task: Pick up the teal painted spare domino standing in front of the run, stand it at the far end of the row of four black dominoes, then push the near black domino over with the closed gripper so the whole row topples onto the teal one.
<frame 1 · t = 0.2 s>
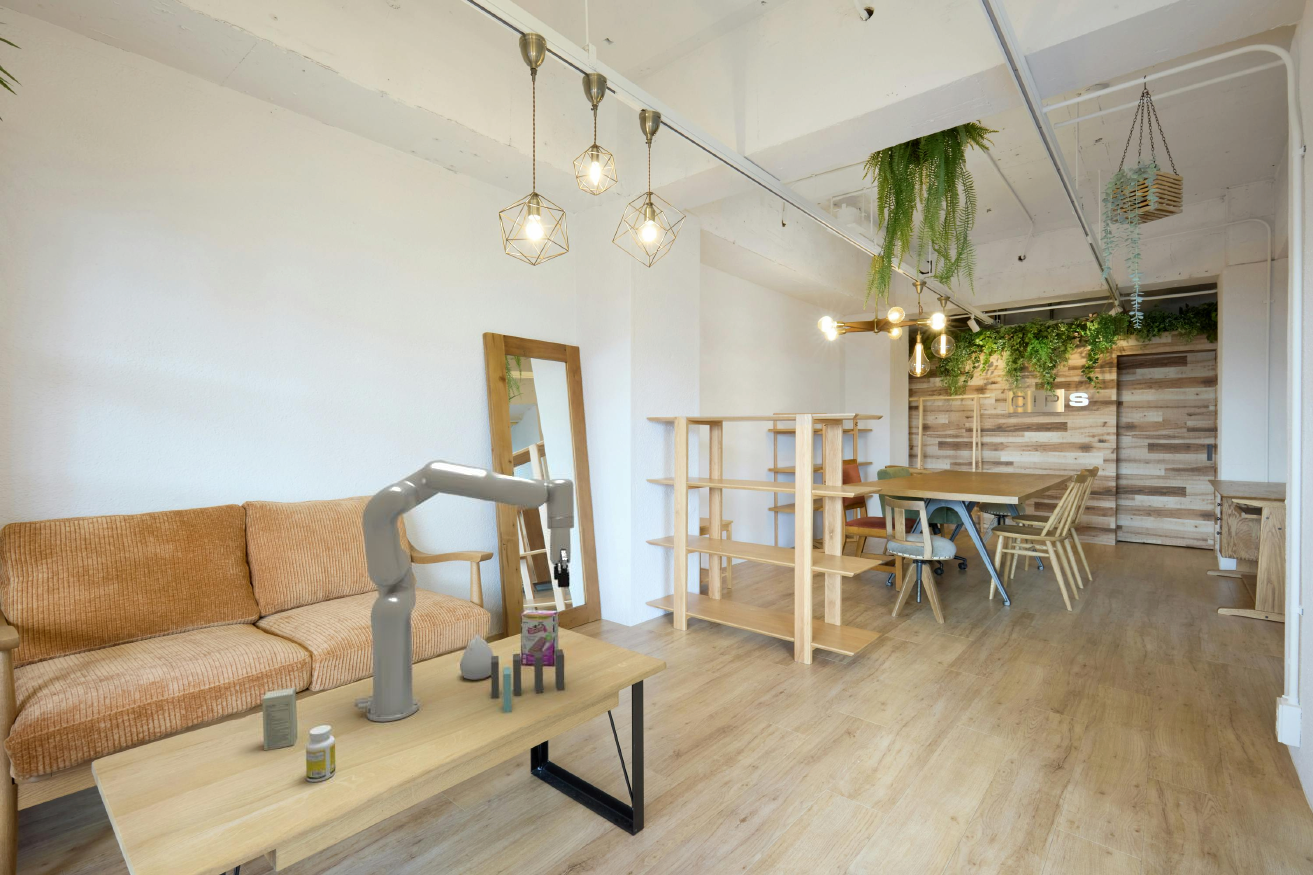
hand: (561, 583, 170), 31 cm above the table, fingers open, 9 cm apart
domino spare: (507, 708, 159), on the table
domino 2: (517, 692, 169), on the table
domino 3: (538, 689, 171), on the table
skincare box: (280, 745, 141), on the table
domino 4: (559, 686, 173), on the table
grey teardrop lump: (477, 676, 182), on the table
supplement bottle: (321, 776, 127), on the table
candy bar box: (540, 663, 192), on the table
domino 1: (495, 694, 168), on the table
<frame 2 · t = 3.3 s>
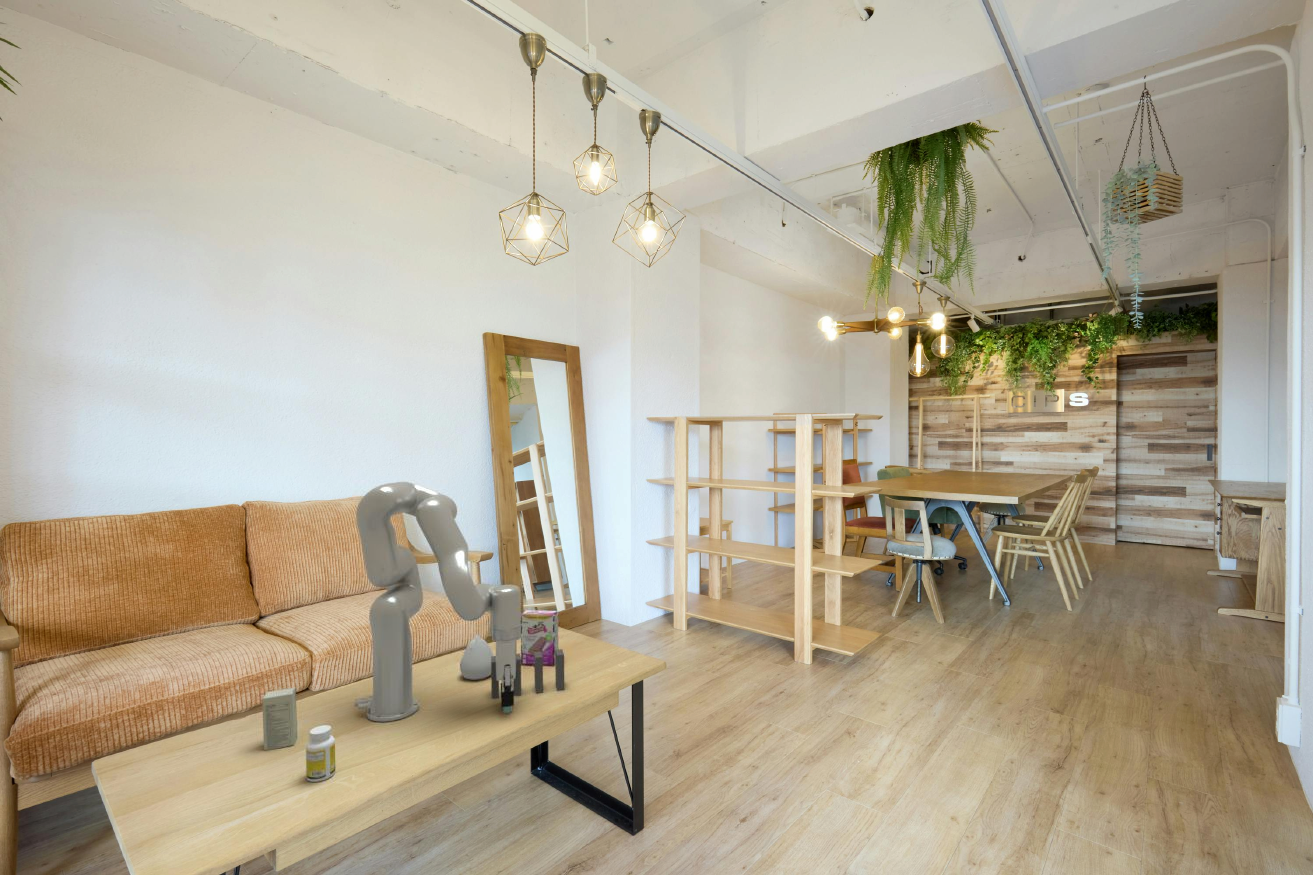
hand: (507, 700, 159), 2 cm above the table, fingers closed on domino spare, 4 cm apart
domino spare: (507, 708, 159), on the table, touching gripper
everything else where it was.
when the fingers open (3 cm above the table, at t = 9.1 s): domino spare stays where it is, on the table.
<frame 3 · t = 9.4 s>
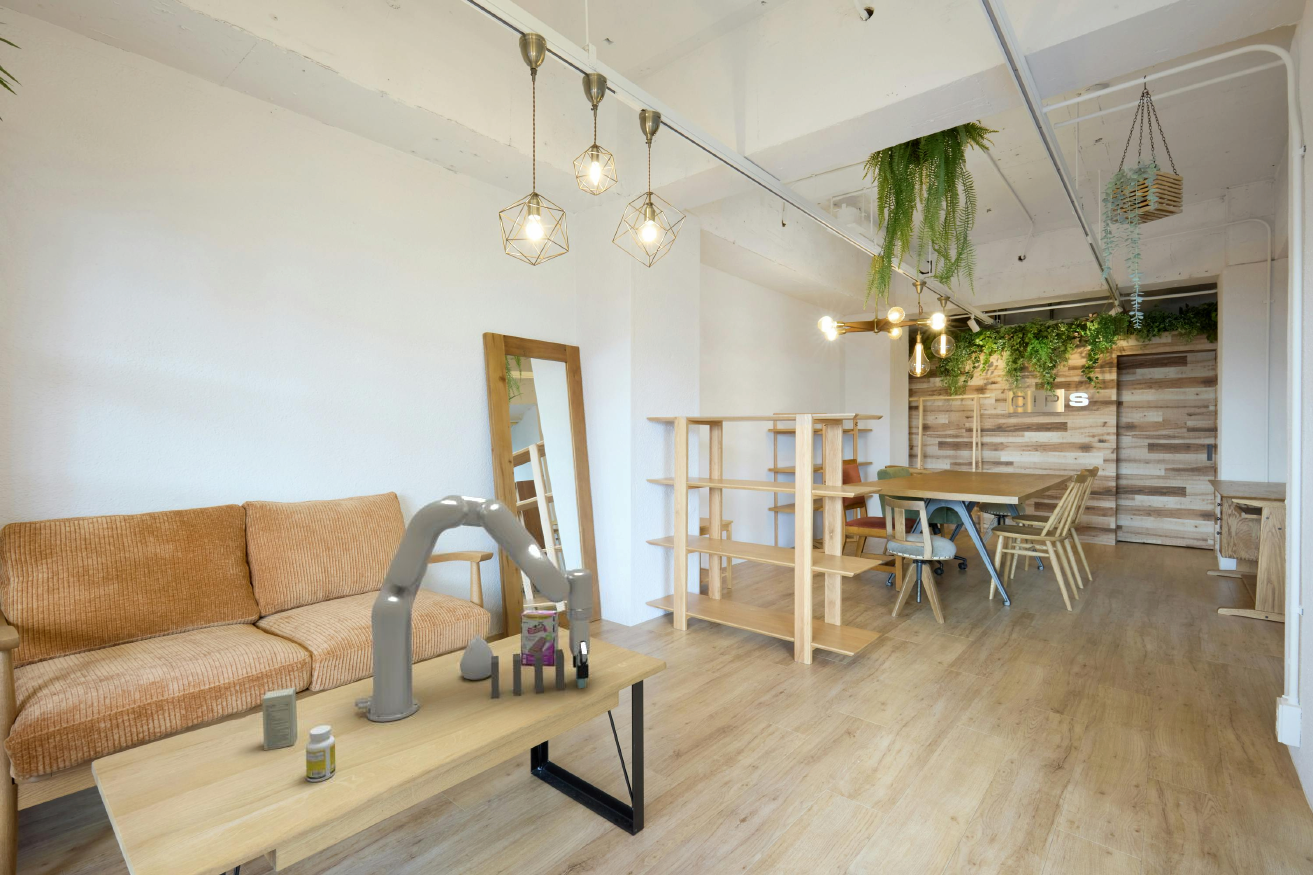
hand: (580, 672, 174), 3 cm above the table, fingers open, 8 cm apart
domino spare: (580, 684, 174), on the table
everything else where it was.
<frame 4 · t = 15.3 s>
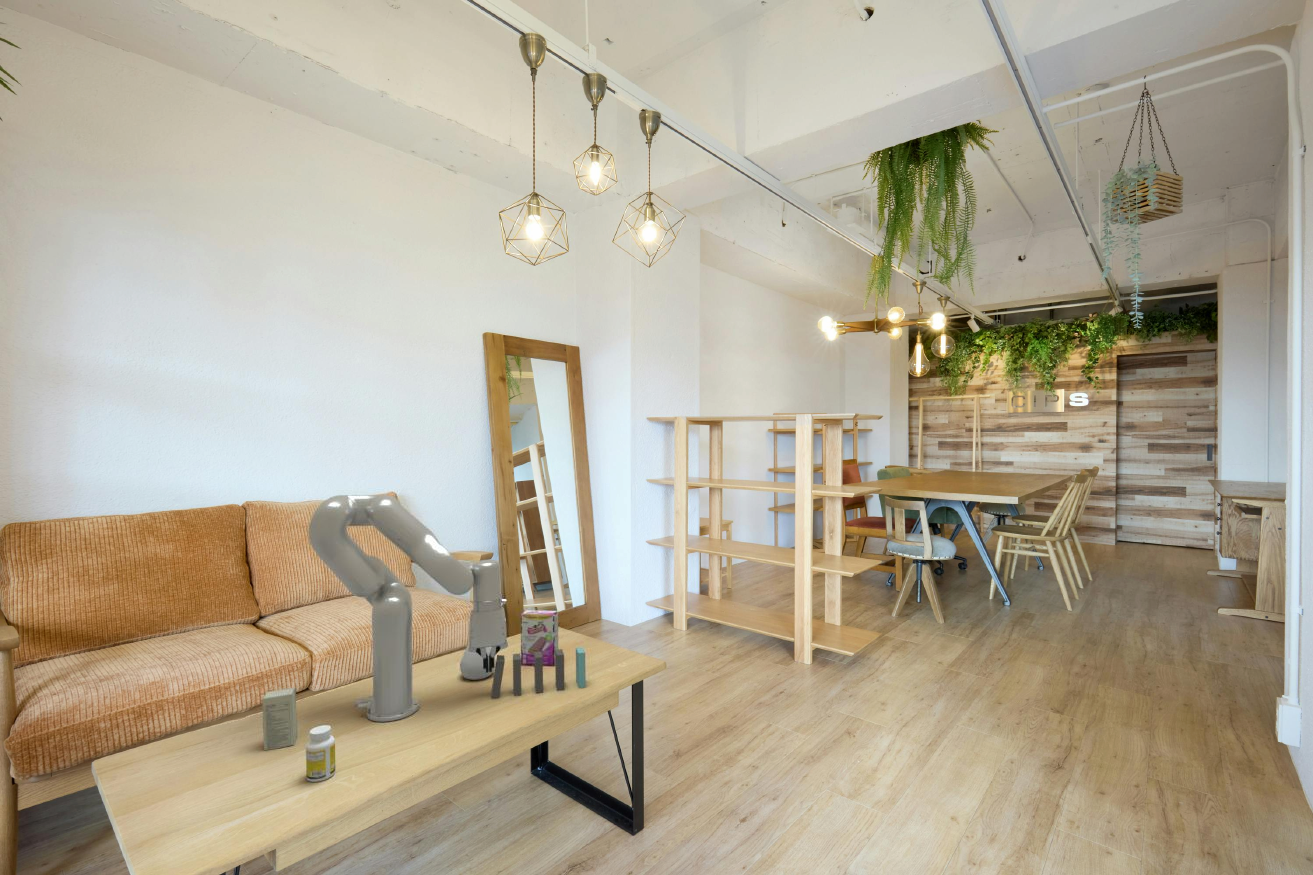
hand: (488, 670, 168), 7 cm above the table, fingers closed
domino 1: (495, 694, 168), on the table, tilted 9°
everything else where it was.
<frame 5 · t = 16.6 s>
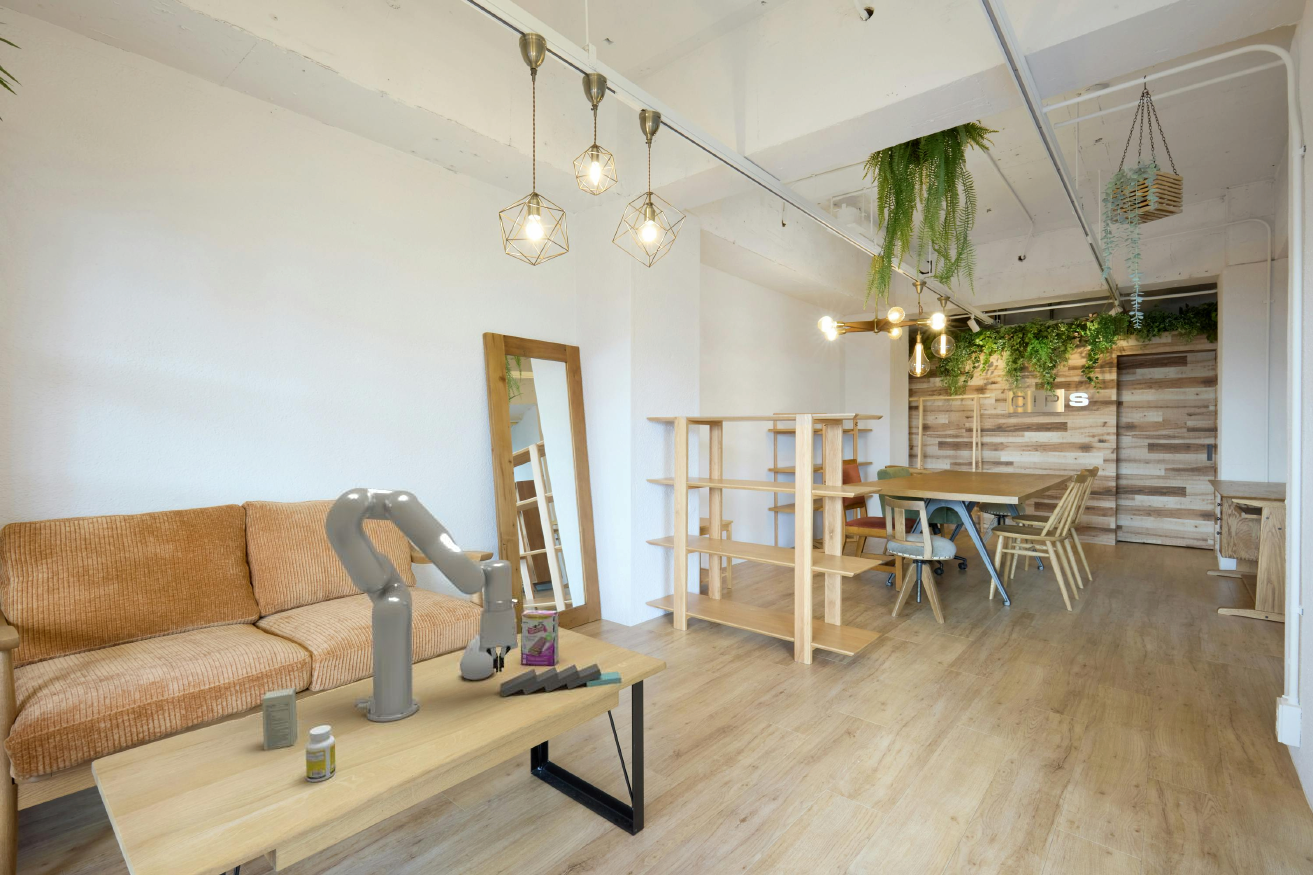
hand: (498, 670, 168), 7 cm above the table, fingers closed
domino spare: (585, 681, 175), on the table, tilted 90°
domino 2: (523, 688, 170), point 1 cm above the table, tilted 70°, touching domino 1, domino 3
domino 3: (544, 685, 171), point 1 cm above the table, tilted 70°, touching domino 2, domino 4
domino 4: (566, 682, 173), point 1 cm above the table, tilted 74°, touching domino 3
domino 1: (501, 690, 168), point 1 cm above the table, tilted 71°, touching domino 2
everything else where it was.
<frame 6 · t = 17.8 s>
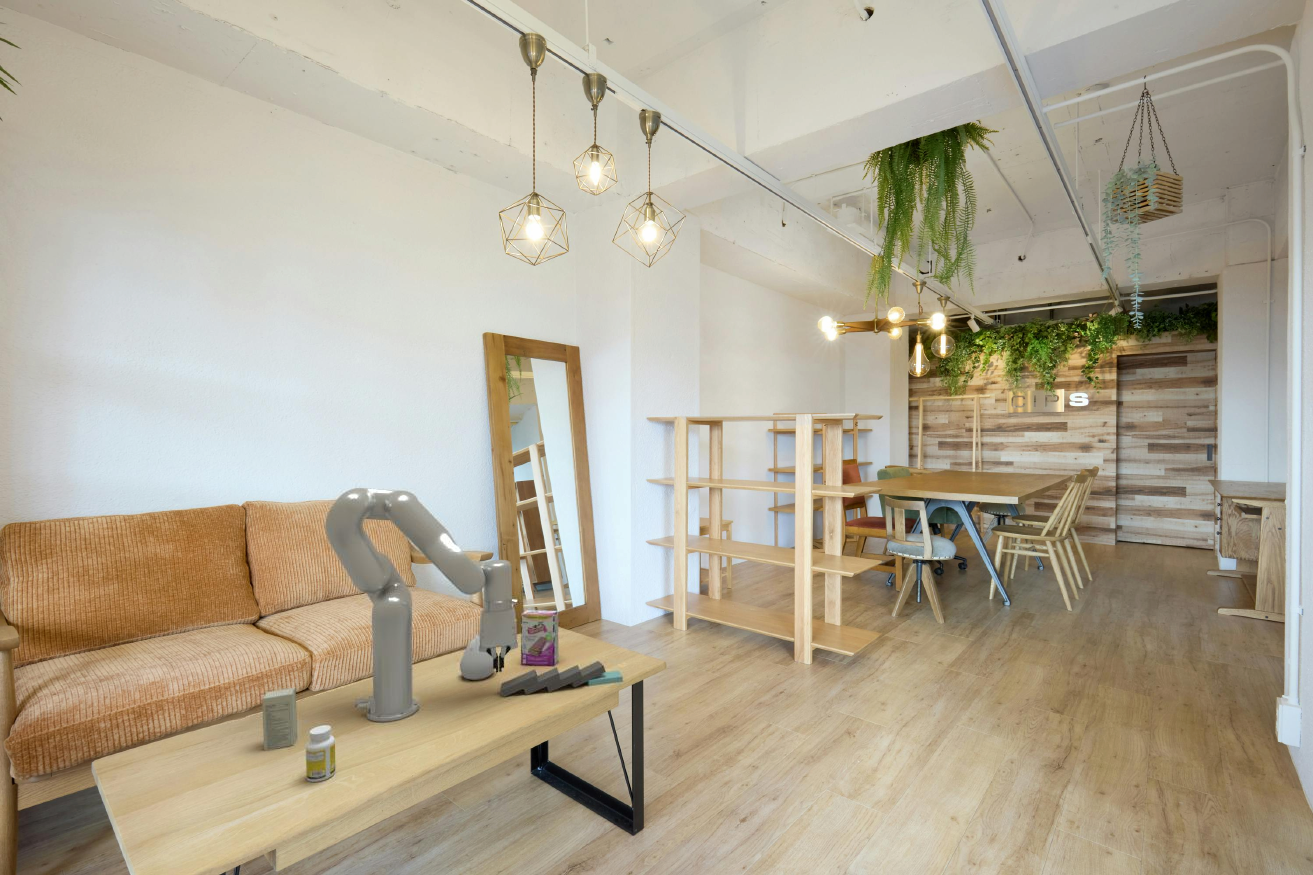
hand: (498, 670, 168), 7 cm above the table, fingers closed
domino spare: (587, 680, 176), on the table, tilted 90°, touching domino 4
domino 2: (524, 688, 170), point 1 cm above the table, tilted 71°, touching domino 3
domino 3: (547, 685, 171), point 1 cm above the table, tilted 72°, touching domino 2
domino 4: (570, 681, 174), point 1 cm above the table, tilted 74°, touching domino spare
domino 1: (502, 690, 168), point 1 cm above the table, tilted 71°
everything else where it was.
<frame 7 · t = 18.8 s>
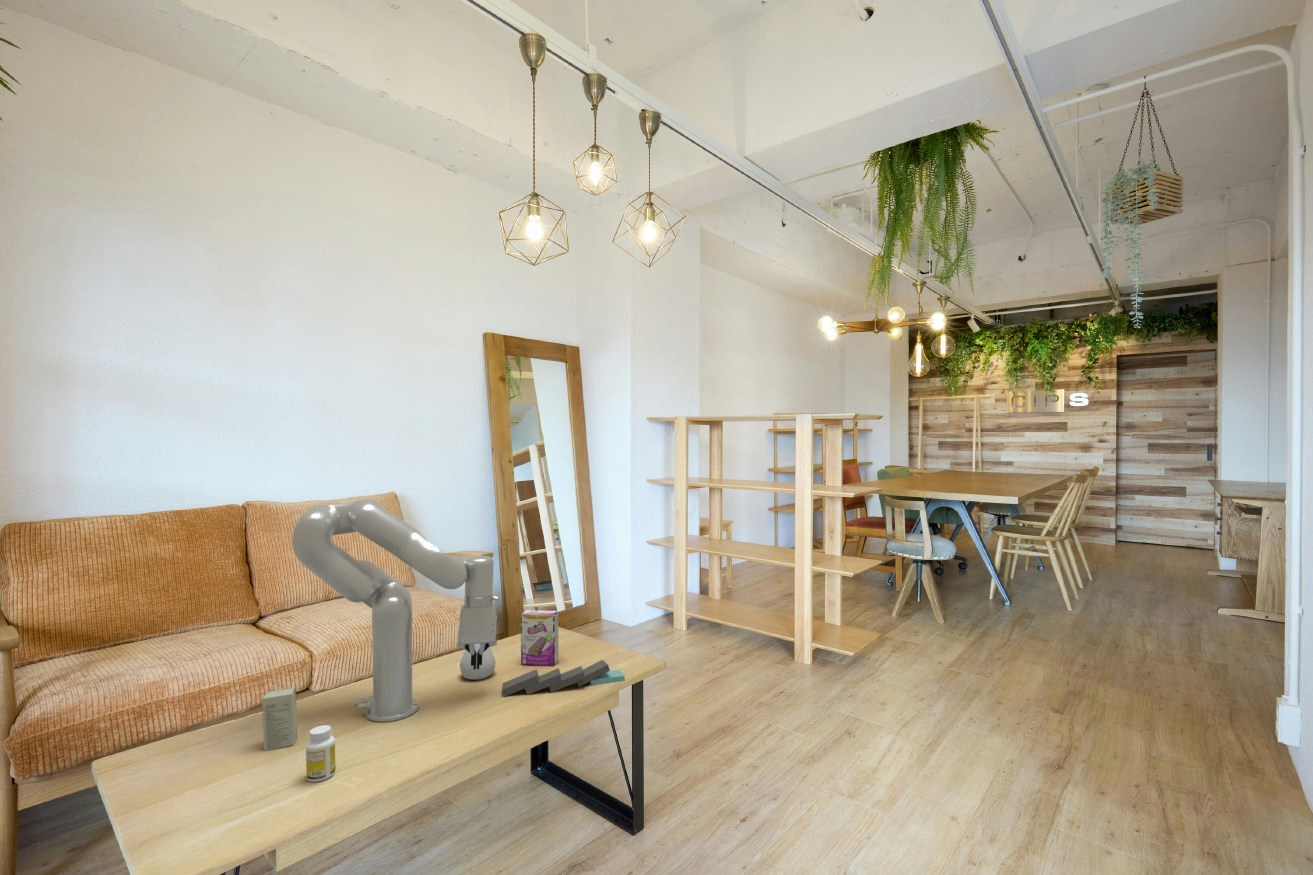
hand: (476, 667, 166), 8 cm above the table, fingers closed
domino 3: (549, 685, 171), point 1 cm above the table, tilted 72°, touching domino 2, domino 4
domino 4: (575, 680, 174), point 1 cm above the table, tilted 72°, touching domino 3, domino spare
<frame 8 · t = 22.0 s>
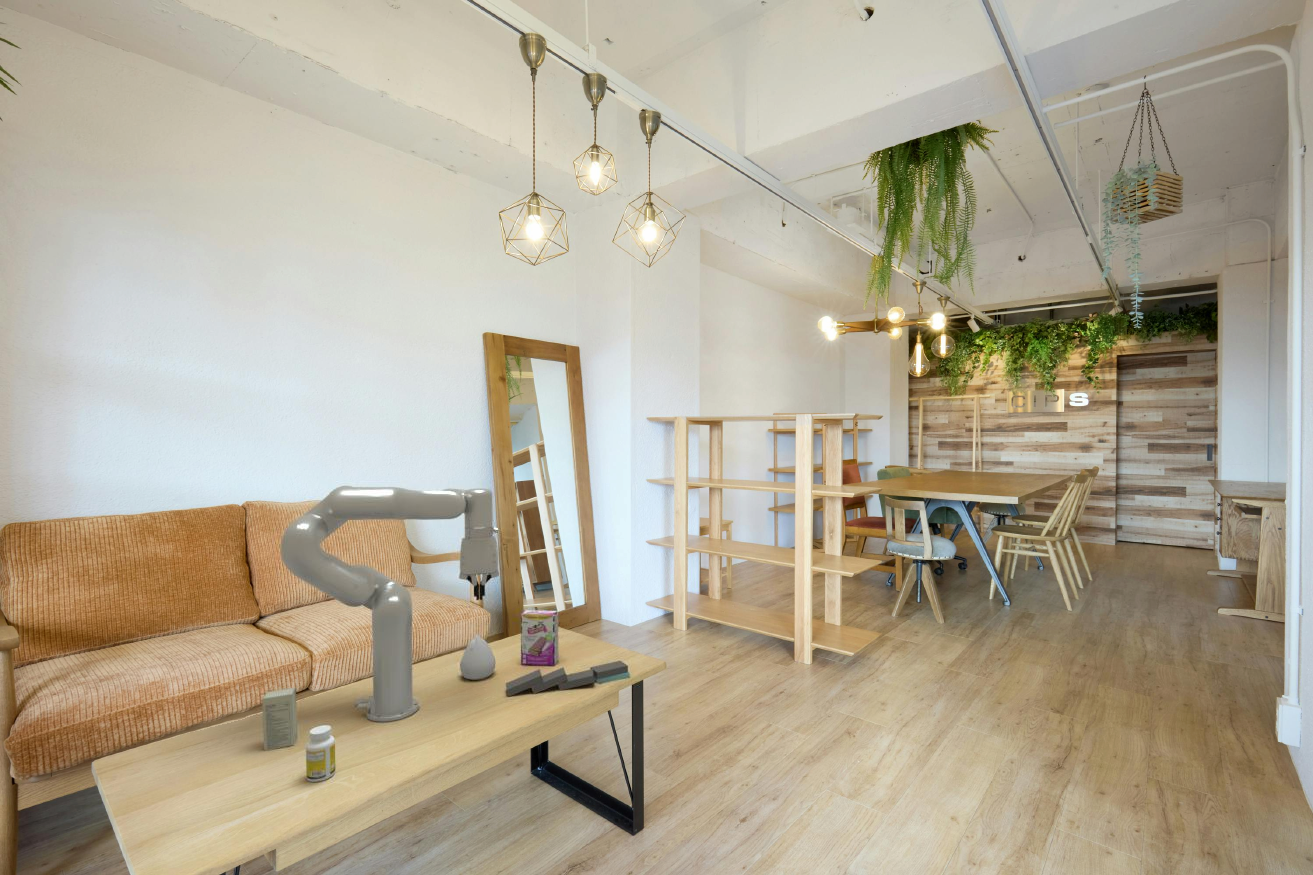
hand: (479, 598, 167), 27 cm above the table, fingers closed
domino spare: (594, 679, 177), on the table, tilted 90°, touching domino 4
domino 2: (531, 687, 170), point 1 cm above the table, tilted 74°, touching domino 1
domino 3: (559, 683, 173), point 1 cm above the table, tilted 81°
domino 4: (593, 673, 177), point 2 cm above the table, tilted 90°, touching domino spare
domino 1: (507, 689, 169), point 1 cm above the table, tilted 73°, touching domino 2
everything else where it was.
at the end: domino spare tilted 90°; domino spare inside the target area (1.8 cm from its centre), on the table; domino 4 tilted 90° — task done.
